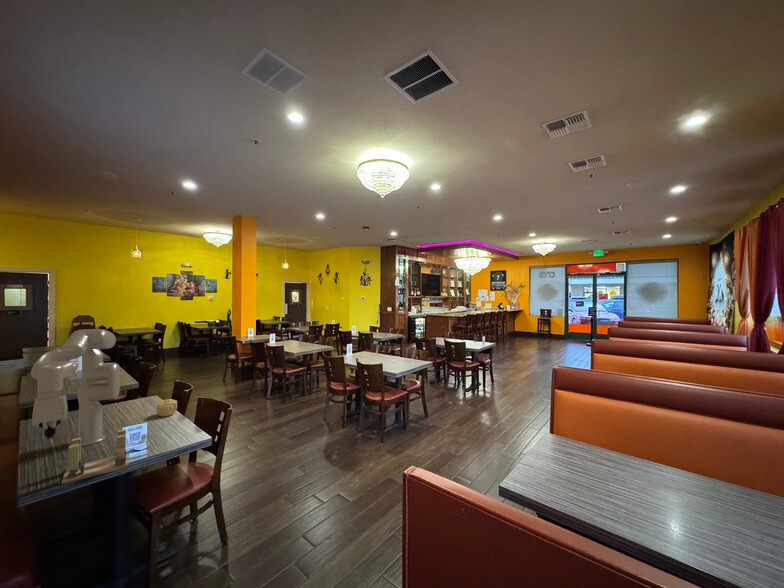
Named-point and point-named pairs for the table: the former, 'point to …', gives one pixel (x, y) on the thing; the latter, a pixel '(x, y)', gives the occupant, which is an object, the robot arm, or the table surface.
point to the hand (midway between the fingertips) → (50, 436)
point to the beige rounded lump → (166, 407)
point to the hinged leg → (73, 458)
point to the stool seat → (99, 462)
